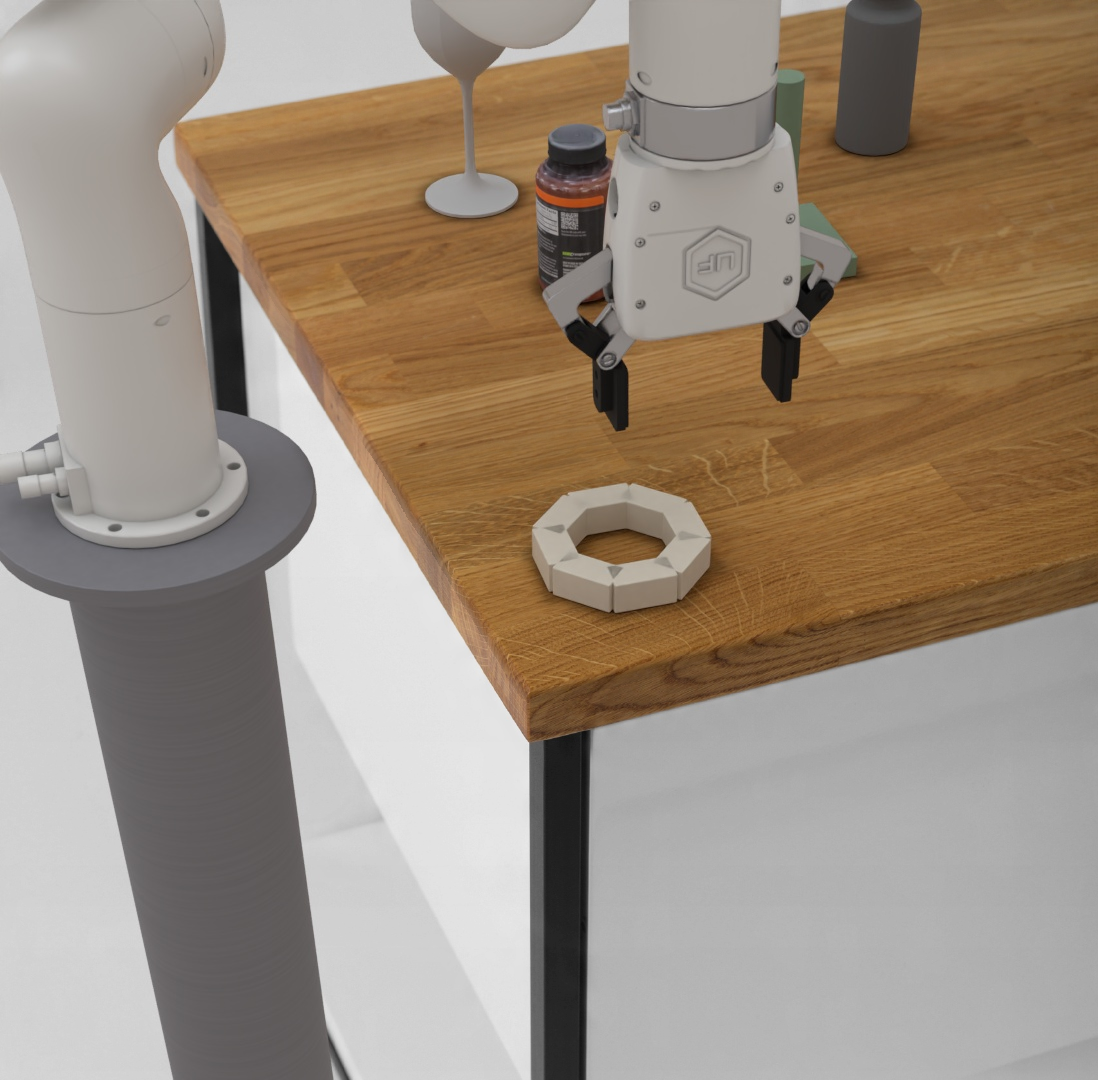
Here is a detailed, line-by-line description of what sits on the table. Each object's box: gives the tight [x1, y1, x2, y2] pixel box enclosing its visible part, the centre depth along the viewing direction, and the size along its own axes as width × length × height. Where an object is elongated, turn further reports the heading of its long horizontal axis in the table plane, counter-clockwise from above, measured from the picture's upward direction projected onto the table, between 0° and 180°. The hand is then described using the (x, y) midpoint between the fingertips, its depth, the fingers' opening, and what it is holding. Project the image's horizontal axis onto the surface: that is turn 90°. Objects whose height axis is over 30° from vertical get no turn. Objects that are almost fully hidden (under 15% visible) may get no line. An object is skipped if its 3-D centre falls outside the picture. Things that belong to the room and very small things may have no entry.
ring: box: [531, 482, 712, 614], centre depth 122 cm, size 10×10×2 cm
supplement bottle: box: [535, 123, 614, 303], centre depth 143 cm, size 6×6×11 cm
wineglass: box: [410, 0, 519, 219], centre depth 150 cm, size 8×8×21 cm
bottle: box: [834, 0, 923, 156], centre depth 159 cm, size 6×6×15 cm
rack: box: [776, 68, 858, 282], centre depth 145 cm, size 9×9×14 cm
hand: (695, 404), depth 116 cm, fingers open, 9 cm apart
